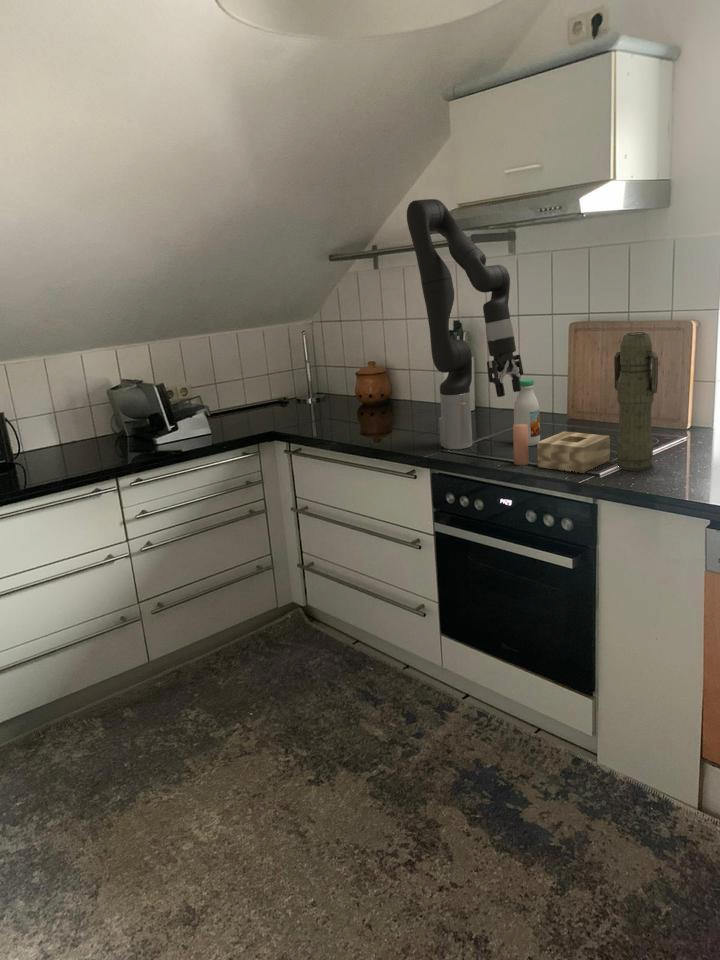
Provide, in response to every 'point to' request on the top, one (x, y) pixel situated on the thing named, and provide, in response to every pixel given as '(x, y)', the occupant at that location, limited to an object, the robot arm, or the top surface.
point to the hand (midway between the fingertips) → (509, 394)
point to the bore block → (573, 451)
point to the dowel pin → (520, 444)
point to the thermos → (635, 400)
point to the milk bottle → (528, 411)
